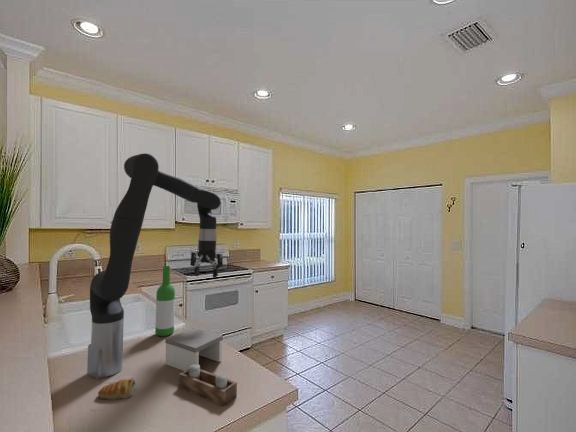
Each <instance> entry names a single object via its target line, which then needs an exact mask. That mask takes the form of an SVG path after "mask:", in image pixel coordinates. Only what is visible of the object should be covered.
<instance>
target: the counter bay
mask: <svg viewBox="0 0 576 432" xmlns="http://www.w3.org/2000/svg"><path fill="white" fill-rule="evenodd" d="M223 340H224V336H223V335H221V334H219V333H215V332H211V331H207V330H204V329H200V328H197V327H191V328H190V329H187V330H184V331H181V332H179V333H176V334H174V335H170V336H167V337H165V340H164V341H165V342H164V343H165V361H164V362H165V363H164V364H165V365H167V366H171V367H173V368H176V369H178V370H180V371H182V372H184V371H186V370H188V369H189V366H190V365H193V364H198V365H200V364H199V363H200V362H199V359H200V357H204V358H207V359H210V360H212V361H214V362H215V361H216V362H218V363H220V362H222V360H223V359H222V358H223V353H222V352H223ZM199 356H200V357H199Z"/></svg>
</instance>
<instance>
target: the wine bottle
mask: <svg viewBox="0 0 576 432" xmlns="http://www.w3.org/2000/svg"><path fill="white" fill-rule="evenodd" d="M170 281H171V266H170V265H163V266H162V284H161V285H159V286H158V288H157V290H156V294H155V296H156V298H155V324H154V325H155V327H154V329H155V335H156V336H158V337H169V336H171V335H172V334H173V333H174V332H175V331H174V330H175V306H176V305H175V304H176V303H175V302H176V300H175V299H176V290H175V288H174V286H173V285H172V284H171V283H170Z"/></svg>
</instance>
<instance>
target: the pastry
mask: <svg viewBox="0 0 576 432" xmlns="http://www.w3.org/2000/svg"><path fill="white" fill-rule="evenodd" d="M136 387H137V385H136V380H135V378H134V377H132V378H129V379H128V378H127V379H126V378H125V379H120V380H118V381H115V382H112V383H109V384H107V385H105V386H103V387H101V388H100V390H99V391H98V392H97V394H98V397H99V398H100V399H102V398H103V400H111V399H114V400H118V399H117V398H123V399H127V398H126V397H128V398H131V397H132V396H133V395H134V393H135V392H134V391H135V390H136ZM130 396H131V397H130ZM104 398H106V399H104Z"/></svg>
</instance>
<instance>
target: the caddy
mask: <svg viewBox="0 0 576 432" xmlns="http://www.w3.org/2000/svg"><path fill="white" fill-rule="evenodd" d="M178 388H179V389H182V390H184V389H185V390H184V391H187V392H188V393H191V394H193V395H195V396H196V395H197V396H198V397H201V398H203V399H206V400H207V401H210V402H211V403H215V404H217V405H220V407H221V406H222V407H225V406H226V405H227V404H228V403H230V402H232V401H233V400H234V399H236V397H237V394H238V393H237V392H238V390H237V389H238V382H236V381H234V380H231V379H228V375H227V374H225V373H219V374H215V373H212V372H209V371H207V370H204V369H201V365H200V364H199V365H198V364H193V365H190V366H189V369H188V370H186V371H182V372H180V373H179V374H178Z"/></svg>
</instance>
